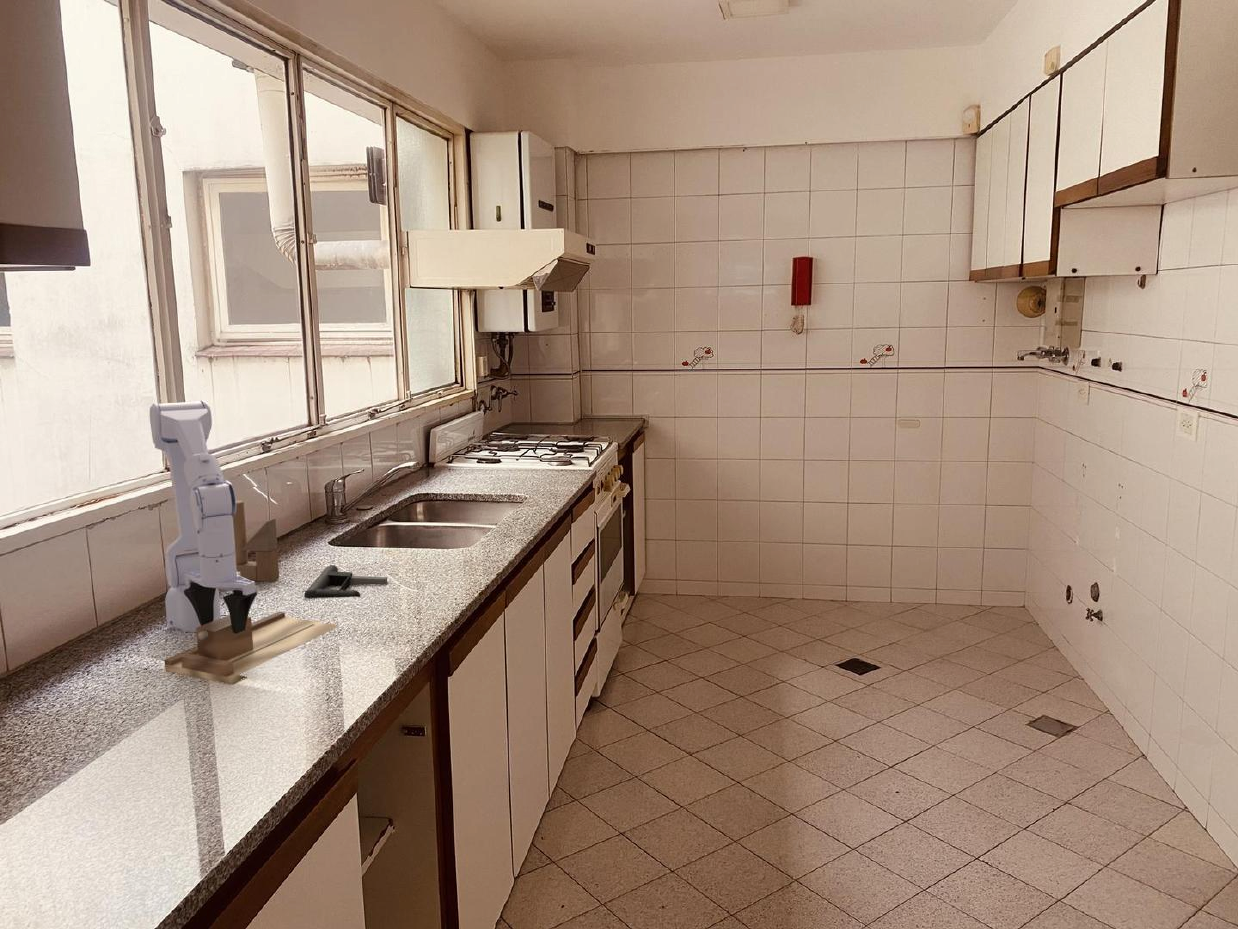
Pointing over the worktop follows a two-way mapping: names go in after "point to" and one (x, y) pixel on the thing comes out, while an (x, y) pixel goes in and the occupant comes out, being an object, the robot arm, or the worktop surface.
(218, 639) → the block with white pegs
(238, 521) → the wooden block
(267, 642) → the board
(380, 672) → the worktop surface
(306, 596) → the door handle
